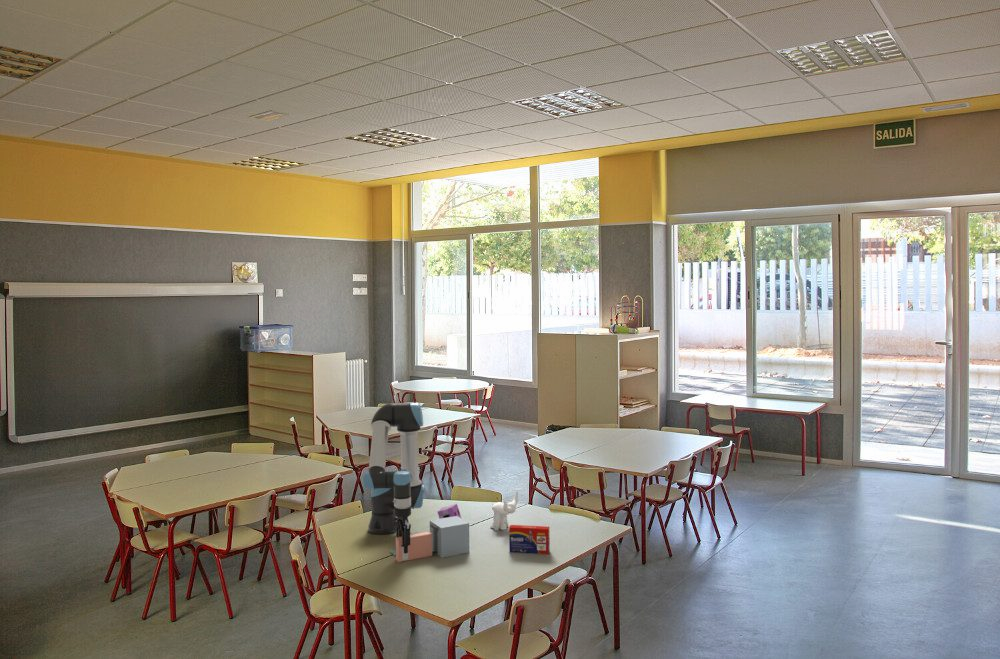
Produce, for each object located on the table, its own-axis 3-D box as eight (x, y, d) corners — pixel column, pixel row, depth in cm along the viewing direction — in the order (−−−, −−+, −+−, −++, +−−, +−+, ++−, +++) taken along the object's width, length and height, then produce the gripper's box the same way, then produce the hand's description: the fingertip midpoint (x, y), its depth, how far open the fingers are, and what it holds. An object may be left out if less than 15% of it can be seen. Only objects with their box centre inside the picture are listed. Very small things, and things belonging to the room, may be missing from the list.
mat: (390, 552, 336) (390, 551, 336) (424, 545, 344) (424, 544, 344) (394, 556, 330) (394, 554, 330) (429, 549, 339) (429, 548, 338)
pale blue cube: (428, 549, 339) (428, 520, 338) (457, 543, 346) (456, 515, 345) (439, 558, 327) (439, 528, 327) (469, 552, 334) (469, 523, 334)
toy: (461, 538, 351) (451, 508, 352) (446, 542, 353) (436, 512, 354) (466, 531, 362) (457, 502, 363) (452, 536, 363) (442, 507, 364)
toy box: (549, 551, 334) (549, 526, 334) (548, 554, 330) (548, 529, 330) (510, 549, 338) (510, 524, 337) (509, 552, 334) (509, 527, 333)
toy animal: (508, 535, 359) (509, 501, 358) (485, 531, 363) (486, 498, 362) (520, 523, 377) (522, 491, 376) (498, 520, 381) (499, 488, 380)
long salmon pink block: (396, 559, 326) (395, 537, 326) (429, 553, 334) (428, 531, 333) (398, 562, 323) (398, 539, 323) (432, 555, 331) (431, 533, 330)
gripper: (387, 503, 330) (389, 554, 331) (401, 512, 316) (402, 565, 317) (403, 500, 334) (404, 551, 335) (417, 509, 319) (418, 562, 321)
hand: (403, 558), depth 326 cm, fingers closed on long salmon pink block, 3 cm apart
